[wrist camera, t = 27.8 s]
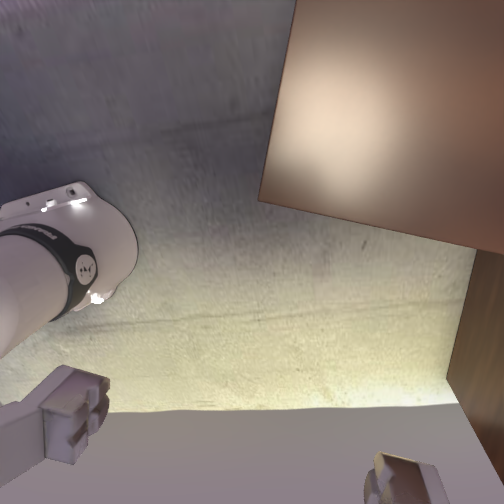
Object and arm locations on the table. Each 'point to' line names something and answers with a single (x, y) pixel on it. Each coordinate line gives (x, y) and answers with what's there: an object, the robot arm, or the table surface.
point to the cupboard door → (482, 356)
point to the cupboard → (394, 118)
